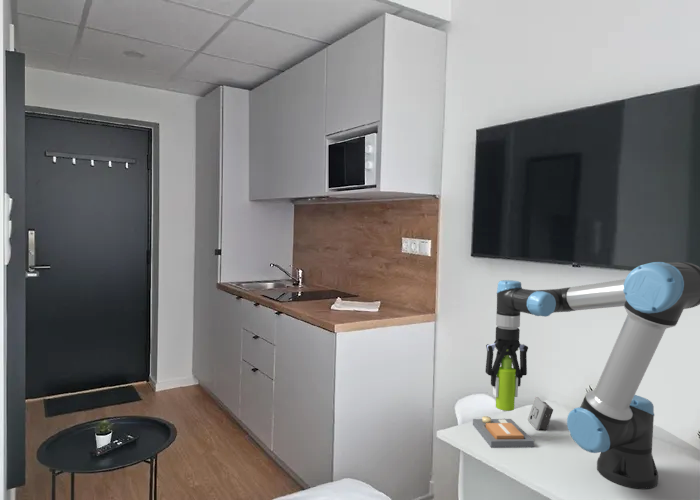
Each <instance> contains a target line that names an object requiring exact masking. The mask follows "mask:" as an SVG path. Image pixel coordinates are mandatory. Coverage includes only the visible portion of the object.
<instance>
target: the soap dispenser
mask: <svg viewBox="0 0 700 500" xmlns="http://www.w3.org/2000/svg"><path fill="white" fill-rule="evenodd" d="M506 351H508V349H507V350H506ZM518 351H519V349H518V350H517V351H516V352H518ZM515 376H516V370H515V369H514V368H513V364H512V358H511V357H510V355H504V358H503V359H502V362H501V365H500V368H499V371H498V374H497V377H499V388H498V397H495V408H496V409H498V410H500V411H505V412H510V411H514V410H515V399H516V397H515Z"/></svg>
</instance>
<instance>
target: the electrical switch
mask: <svg viewBox="0 0 700 500" xmlns="http://www.w3.org/2000/svg"><path fill="white" fill-rule="evenodd" d="M553 412H554V409H553V408H552V406H550V405H549V404H548V403H547V402H545V401H544V400H542V399H541V398H539V397H538V396H535V397H534V399H533V402H532V405H531V408H530V410H529V414H528V417H527V420H528V423H530V424H531V425H532V427H533V428H534V429H535V430H536V431H539V430H540V429H541V430H544V431H547V429H548V427H549V424H550V421H551V418H552V415H553Z"/></svg>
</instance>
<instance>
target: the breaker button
mask: <svg viewBox="0 0 700 500" xmlns="http://www.w3.org/2000/svg"><path fill="white" fill-rule="evenodd" d="M486 429H487V430H488V431H489V432H490V433H491V434H492V436H493V437H494V438H495V439H524V435H523V434H522V433H521V432H520V431H519V430H518V429H517V428H516V427H515V426H514V425H513V424H512V423H486Z"/></svg>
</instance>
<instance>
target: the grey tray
mask: <svg viewBox="0 0 700 500" xmlns="http://www.w3.org/2000/svg"><path fill="white" fill-rule="evenodd" d="M486 423H512V424H513V425H514V426H515V427H516V428H517V429H518V430H519V431H520V432H521V433H522V434H523V435H524V439H495V438H494V437H493V436H492V434H491V433H490V432H489V431H488V430H487V429H486ZM472 426H473V427H474V428H475V430H476V431H477V432H478V434H480V436H481V437H482V438H483V440H485V442H486V443H487V444H488V445H489V447H490V448H492V449H493V448H534V446H535V440H534V439H533V438H531V437H530V436H529V435H528V434H527V433H526V432H525V431H524V430H523V429H522V428H521V427H520V426H519V425H518V424H517V423H516V422H515V421H514V420H513V419H512V418H492V417H490V416H482V417H481V418H473V419H472Z"/></svg>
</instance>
